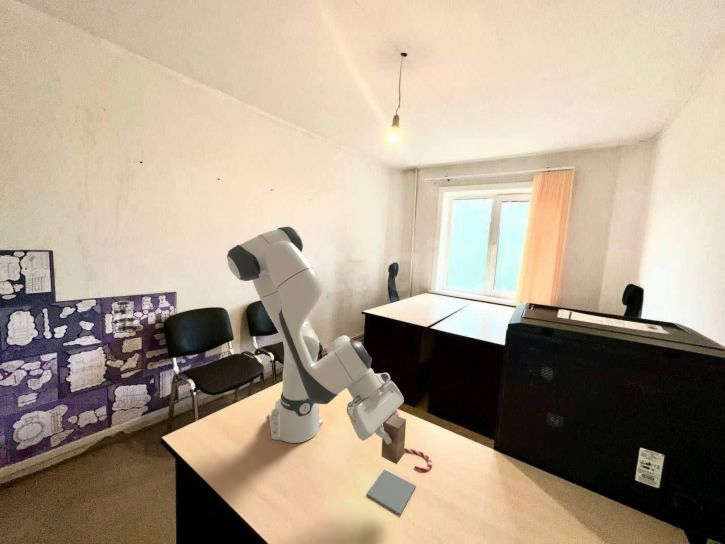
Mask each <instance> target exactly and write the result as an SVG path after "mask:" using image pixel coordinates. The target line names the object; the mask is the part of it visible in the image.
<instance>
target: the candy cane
mask: <svg viewBox="0 0 725 544" xmlns="http://www.w3.org/2000/svg"><path fill="white" fill-rule="evenodd" d="M404 453H407V454H413V455H418V456H419V457H422V458H423V459H424V460H426V462H427V465H426V466H425V467H420V466H417V465H415V466H414V468H413V469H414V471H417V472H421V473H426V472H429V471H430V470H431V469H432V466H433V462H432V460H431V457H429V456H428V455H427V454H426V453H424V452H422V451H420V450H417V449H414V448H413V449H412V448H405V447H404Z"/></svg>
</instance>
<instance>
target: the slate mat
mask: <svg viewBox="0 0 725 544" xmlns="http://www.w3.org/2000/svg"><path fill="white" fill-rule="evenodd" d="M416 487H417V486H416V485H415V484H413V483H411V482H410V481H407V480H406V479H404V478H402V477H400V476H398V475H396V474H394V473H392V472H390V471H388V470H386V469H383V470H382V472H381V473H380V475H379V476H378V477H377V479H376V480H375V481H374V483H373V484H372V485H371V487H370V488H369V489H368V491H367V492H366V496H367V497H369V498H371V499H372V500H374V501H375V502H377V503H379V504H381V506H384V507H386V508H387V509H389V510H391V511H392V512H394V513H396V515H399V516H401V515H402V513H403V511H404V509H405V508H406V506H407V504H408V502H409V501H410V498H411V497H412V495H413V493H414V491H415V489H416Z"/></svg>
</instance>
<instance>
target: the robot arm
mask: <svg viewBox="0 0 725 544" xmlns="http://www.w3.org/2000/svg"><path fill="white" fill-rule="evenodd" d="M303 244H304V243H303V240H302V238H301V236H300V234H299V233H298V231H297V230H296V229H294V228H293V227H291V226H281V227H278V228H277V229H274V230H270V231H266V232H263V233H260V234H259V235H257V236H255V237H253V238H251V239H248V240H246V241H244V242H243V243H241V244H237V245H235V246H233V247H232V248H231V249H229V250H228V252H227V255H226V259H227V266H228V268H229V270H230V272H231V273H232V274H233V275H234V276H235V277H236V278H237V279H238V280H240V281H243V282H249V281H252V282H253V285H254V288H255V291H256V293H257V295H258V297H259V299H260V301H261V303H262V305H263V307H264V308H265V311H266V313H267V315H268V317H269V319H270V320H271V321H272V323H273V325H274V327H275V328H276V330H277V332H278V333H279V335H280V338H281V341H282V343H283V351H284V355H283V369H282V388H281V389H282V390H281V391H282V392H281V394H280V398H279V399H278V400H276V401H275V403H274V408H273V409H271V411H270V412H269V413H268V422H269V428H270V429H269V430H270V437H271V439H272V440H275V441H283V442H286V443H291V444H294V443H295V444H297V443H298V444H299V443H303V442H306V441H308V440H311V439H312V438H313V437H315V436H316V435H317V433H318V432H319V428H320V426H322V424H323V423H324V421H323V420H324V419H323V418H322V417H321V415H320V405H328V404H329V403H330V402H332V401H333V400H334V399H336V397H337V396H339V394H340V393H341V392H343V391H344V390H347V391H348V393H349V394H350V396H351V398H352V400H351V401H350V402H348V403H347V404H346V405H347V406H346V413H347V415H348V417H349V420H350V423H351V425H352V427H353V429H354V432H355V434H356V435H357V437H358V439H360V440H361V441H365V440H368V439H369V438H370V437H372V436H373V435H374V434H376V436H378V437H379V438H381V439H382V438H383V439H384V441H385V442H386V444H390V443H391V442H392V441H393V437H392V435H391V434H390V433H389V434H388V433H386V432H385V431H384V427H383V423H384V422H385V421H386V420H387V419H388V418H389V417H390V416H391V415H392V414H394V415H396V416H399V417H400V413H399V412H398V409H399V408H400V407H401V405H402V404H403V403H404V401H405V400H404V396H403V394H402V393H401V391H400V389H399V388H398V386H397V385H396V384H395V382H393V380H391V376H390V374H389V373H388V372H383V373H381V372H380V373H376V372H374V369H372V368H371V365H372V359H373V358H372V356H370V355H369V353H368V352H367V350H366V349H365V346H364V345H363V343H362V341H359V340H354V339H351V338H350V337H349V336H348V335H345V334H343V335H340V336H337V337H336V338H334V339H332V341H330V342H329V343H328V345H327V346H326V350H325V351H326V353H327V355H324V356H323V357H322V358H320V359H319V360H318V355H319V352H320V342H319V337H318V335H317V334H316V332H315V330H314V328H313V327H312V325H311V323H310V320H309V319H308V317H309V316H310V314H311V312H312V311H313V310H314V309H315V307H316V306H317V305H318V303H319V301H320V300H321V297H322V293H323V284H322V281H321V279H320V277H319V276H318V274H317V272H316V270H315V269H314V267H313V265H312V264H311V262H310V261H309V260H308V259H307V257H306V256H305V255H304V253H302V252H303V248H304V245H303Z"/></svg>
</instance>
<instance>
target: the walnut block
mask: <svg viewBox="0 0 725 544" xmlns="http://www.w3.org/2000/svg"><path fill="white" fill-rule="evenodd" d="M406 424H407V419H405V418H403V417H400V415H399V416H396V415H394V414H392V415H391V416H390V417H389V418H388V419H387V420H386V421H385V422H384V423H383V424H382V426H383V427H384V431H385V432H386V433H388V434H389V433H390V434H391V435H392V437H393V441H392V442H391V443H390V444H386V442H385V441H384V439H383V438H381V454H380V455H381V457H382V458H384V459H385V460H388V461H389V462H391V463H392V464H395V465H397V464H398V463H399V462H400V460H401V459H402V457H403V456H404V455H405V452H404V448H405V446H406V445H405V443H406V442H405V441H406V427H407V426H406Z"/></svg>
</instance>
